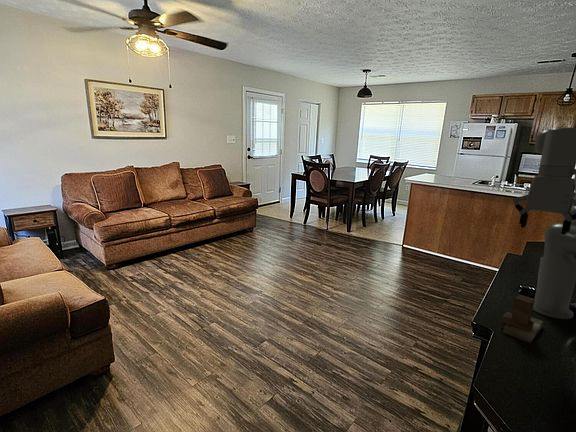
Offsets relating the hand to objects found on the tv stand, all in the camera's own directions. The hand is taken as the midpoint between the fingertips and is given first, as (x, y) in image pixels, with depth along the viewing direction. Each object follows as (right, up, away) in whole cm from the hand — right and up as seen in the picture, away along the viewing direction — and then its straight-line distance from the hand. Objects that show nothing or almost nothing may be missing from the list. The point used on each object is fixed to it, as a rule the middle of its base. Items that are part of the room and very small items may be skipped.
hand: (542, 230), depth 94 cm
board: (-2, -32, +6) cm, 32 cm away
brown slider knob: (-4, -32, +4) cm, 33 cm away
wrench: (+34, -25, +44) cm, 61 cm away
